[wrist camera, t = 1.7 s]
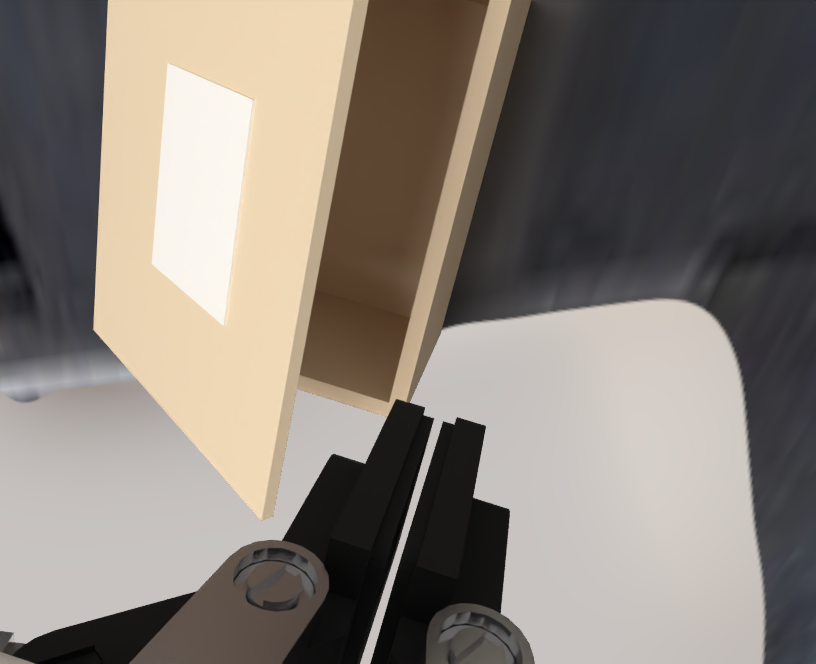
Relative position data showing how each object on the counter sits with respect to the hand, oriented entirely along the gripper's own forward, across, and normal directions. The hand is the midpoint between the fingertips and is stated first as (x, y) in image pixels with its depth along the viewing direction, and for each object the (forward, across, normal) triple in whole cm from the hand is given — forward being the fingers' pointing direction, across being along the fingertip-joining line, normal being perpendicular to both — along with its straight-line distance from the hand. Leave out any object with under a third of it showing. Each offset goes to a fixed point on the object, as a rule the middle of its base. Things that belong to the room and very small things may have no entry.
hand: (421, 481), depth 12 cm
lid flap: (+14, +11, 0) cm, 18 cm away
